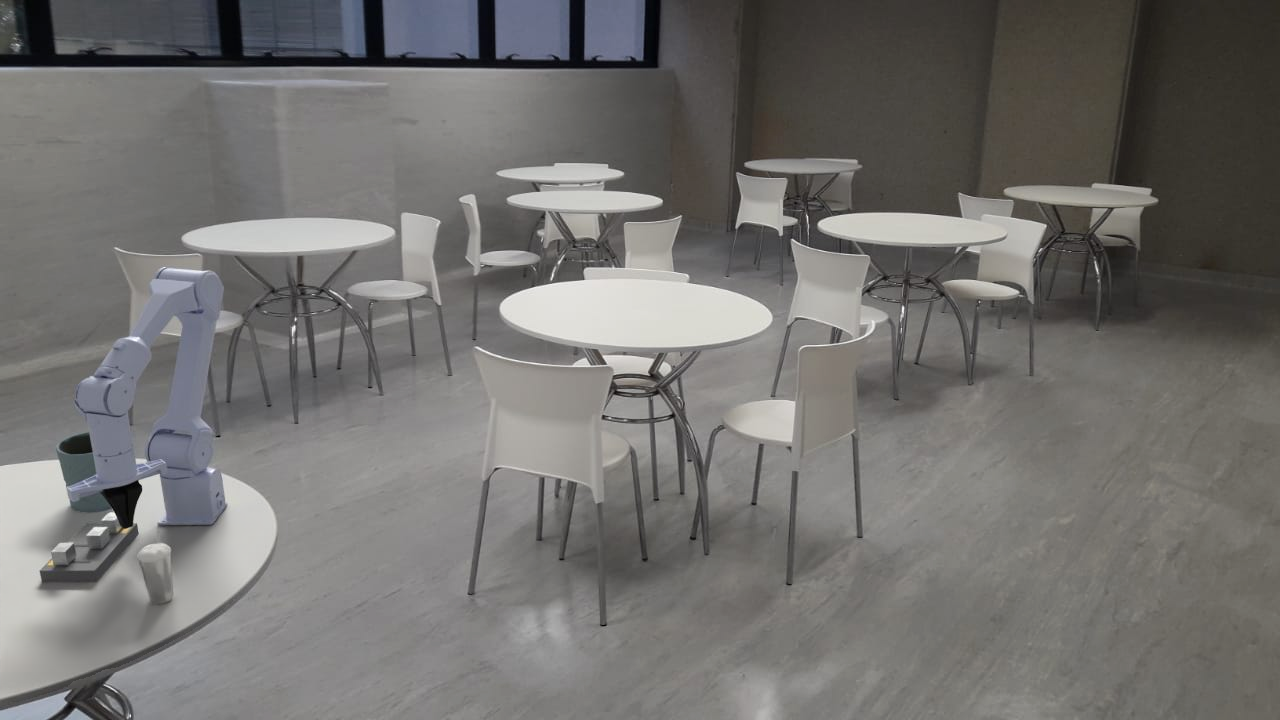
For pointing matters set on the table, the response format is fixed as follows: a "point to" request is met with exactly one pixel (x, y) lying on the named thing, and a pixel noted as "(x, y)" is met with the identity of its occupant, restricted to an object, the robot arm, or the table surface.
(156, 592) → the milkshake
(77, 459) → the teal plant pot
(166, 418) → the robot arm
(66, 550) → the knob
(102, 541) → the knob
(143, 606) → the table surface
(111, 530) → the knob
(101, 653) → the table surface
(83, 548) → the switch panel
